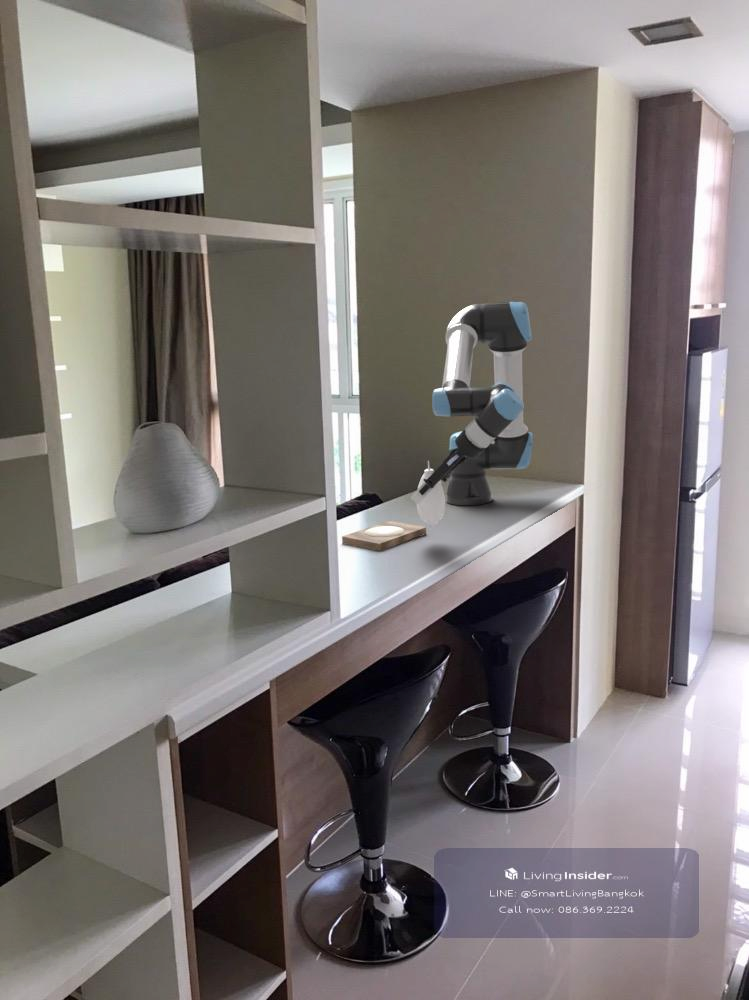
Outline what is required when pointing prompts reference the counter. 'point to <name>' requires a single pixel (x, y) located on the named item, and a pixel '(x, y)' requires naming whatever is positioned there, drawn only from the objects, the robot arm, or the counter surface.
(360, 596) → the counter surface
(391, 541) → the walnut board
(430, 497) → the white pear with stem
